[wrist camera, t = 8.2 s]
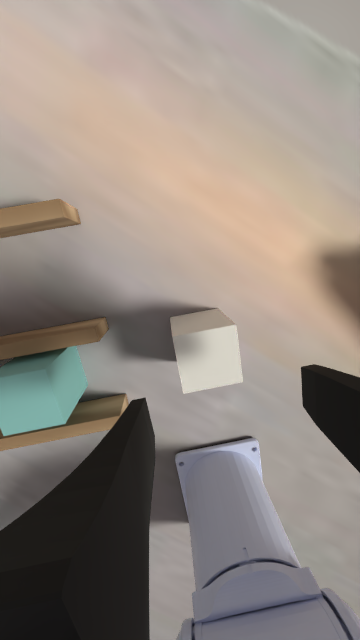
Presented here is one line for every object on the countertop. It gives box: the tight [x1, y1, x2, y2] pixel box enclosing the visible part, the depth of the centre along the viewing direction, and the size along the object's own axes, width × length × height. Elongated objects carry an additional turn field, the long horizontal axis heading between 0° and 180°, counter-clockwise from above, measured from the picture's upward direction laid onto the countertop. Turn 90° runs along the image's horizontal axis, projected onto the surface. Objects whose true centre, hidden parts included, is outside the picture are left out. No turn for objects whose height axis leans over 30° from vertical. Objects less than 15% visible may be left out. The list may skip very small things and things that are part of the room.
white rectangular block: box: [170, 308, 243, 394], centre depth 17 cm, size 4×4×5 cm
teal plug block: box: [0, 346, 88, 436], centre depth 17 cm, size 4×4×5 cm
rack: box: [0, 199, 129, 451], centre depth 17 cm, size 16×12×3 cm
